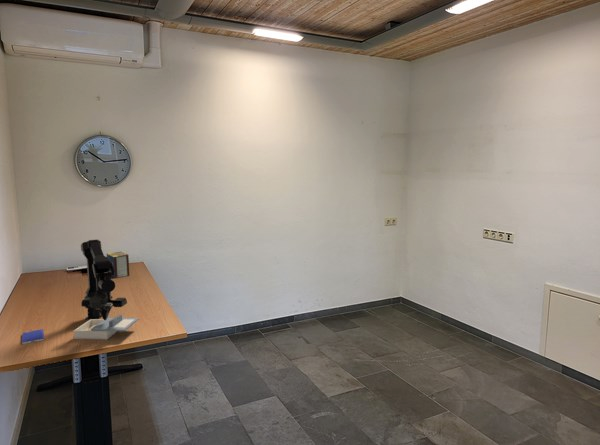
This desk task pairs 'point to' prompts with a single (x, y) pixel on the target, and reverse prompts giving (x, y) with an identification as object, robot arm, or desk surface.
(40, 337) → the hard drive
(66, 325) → the desk surface
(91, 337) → the box
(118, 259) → the protein box
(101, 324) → the lid
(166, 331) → the desk surface
